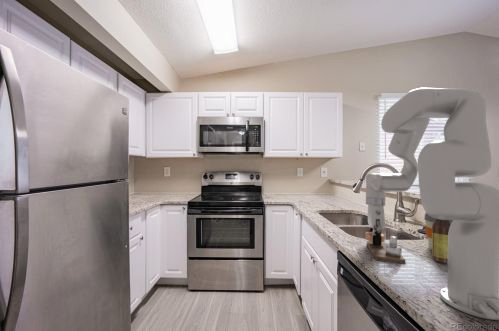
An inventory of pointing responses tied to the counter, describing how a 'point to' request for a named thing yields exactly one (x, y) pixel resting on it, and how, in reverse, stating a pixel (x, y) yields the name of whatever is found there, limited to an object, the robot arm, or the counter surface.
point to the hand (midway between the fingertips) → (374, 241)
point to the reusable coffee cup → (430, 228)
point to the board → (384, 254)
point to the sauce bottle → (440, 240)
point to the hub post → (372, 242)
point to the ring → (370, 237)
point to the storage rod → (393, 248)
